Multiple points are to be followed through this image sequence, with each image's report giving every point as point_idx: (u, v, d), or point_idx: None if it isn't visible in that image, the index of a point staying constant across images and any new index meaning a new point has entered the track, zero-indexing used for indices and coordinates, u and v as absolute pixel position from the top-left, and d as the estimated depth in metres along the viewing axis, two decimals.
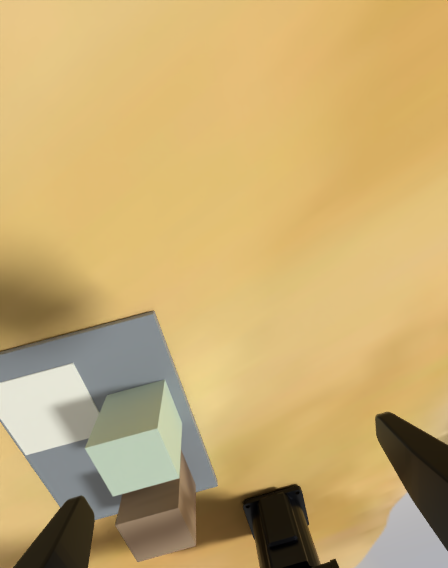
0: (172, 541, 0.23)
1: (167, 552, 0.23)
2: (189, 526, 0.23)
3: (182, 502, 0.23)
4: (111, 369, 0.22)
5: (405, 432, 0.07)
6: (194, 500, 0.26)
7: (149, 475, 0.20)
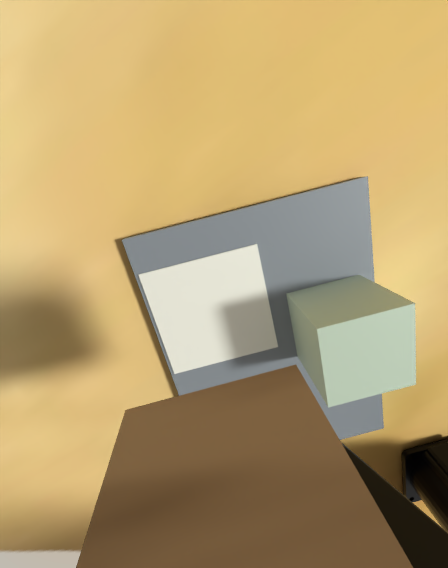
0: None
1: None
2: None
3: None
4: (299, 256, 0.18)
5: None
6: None
7: (381, 377, 0.15)
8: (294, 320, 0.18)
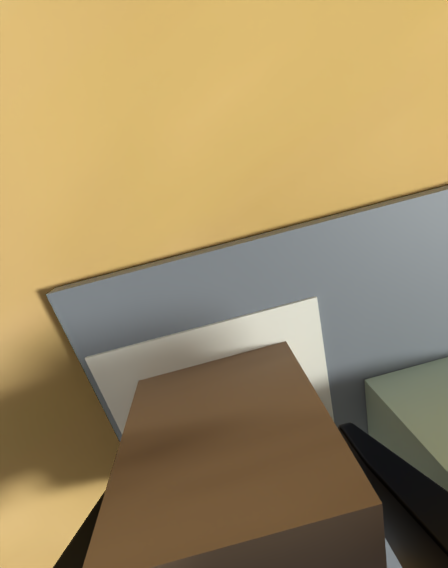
0: None
1: None
2: None
3: None
4: (393, 316, 0.09)
5: (362, 444, 0.07)
6: None
7: None
8: (383, 433, 0.10)
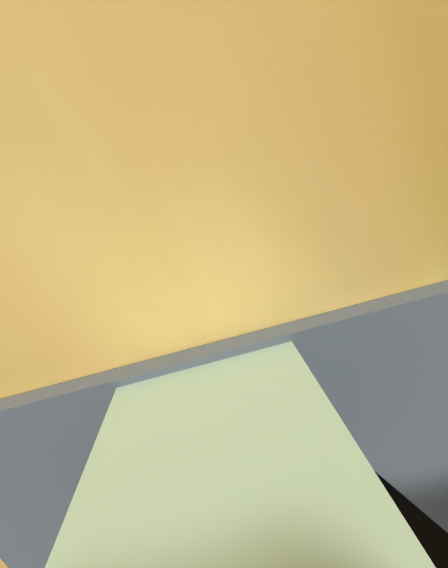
0: None
1: None
2: None
3: None
4: None
5: None
6: None
7: None
8: None
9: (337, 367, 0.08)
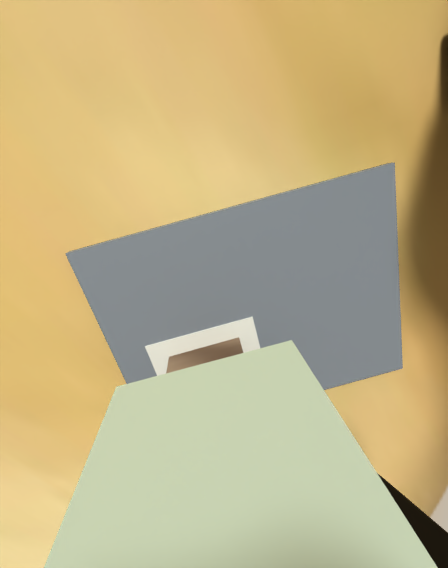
0: None
1: None
2: None
3: None
4: (153, 307, 0.18)
5: None
6: (235, 353, 0.17)
7: None
8: None
9: (270, 223, 0.17)
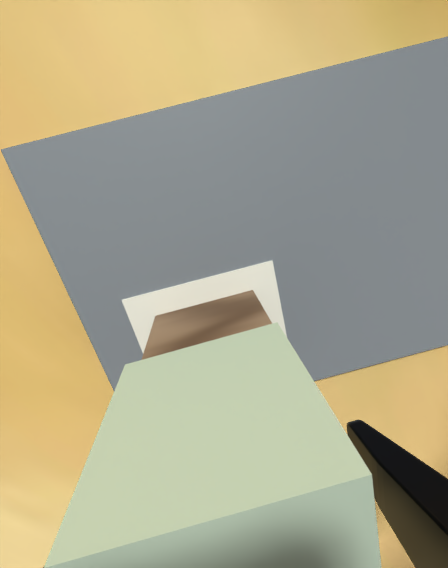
0: None
1: None
2: None
3: None
4: (134, 241, 0.13)
5: (372, 441, 0.07)
6: (250, 306, 0.12)
7: (319, 567, 0.05)
8: None
9: (304, 116, 0.12)
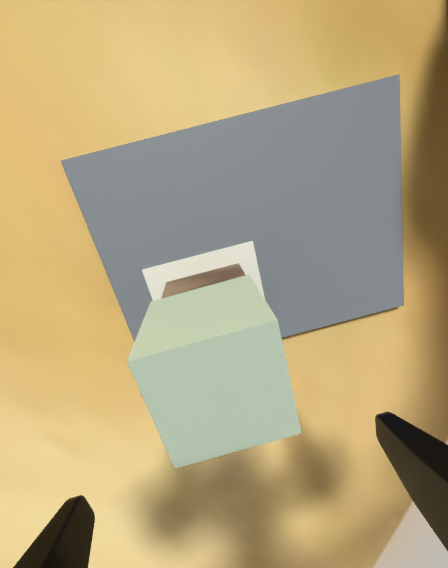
0: None
1: None
2: None
3: None
4: (151, 226, 0.17)
5: (405, 432, 0.07)
6: (235, 272, 0.17)
7: (257, 375, 0.10)
8: None
9: (272, 136, 0.16)
